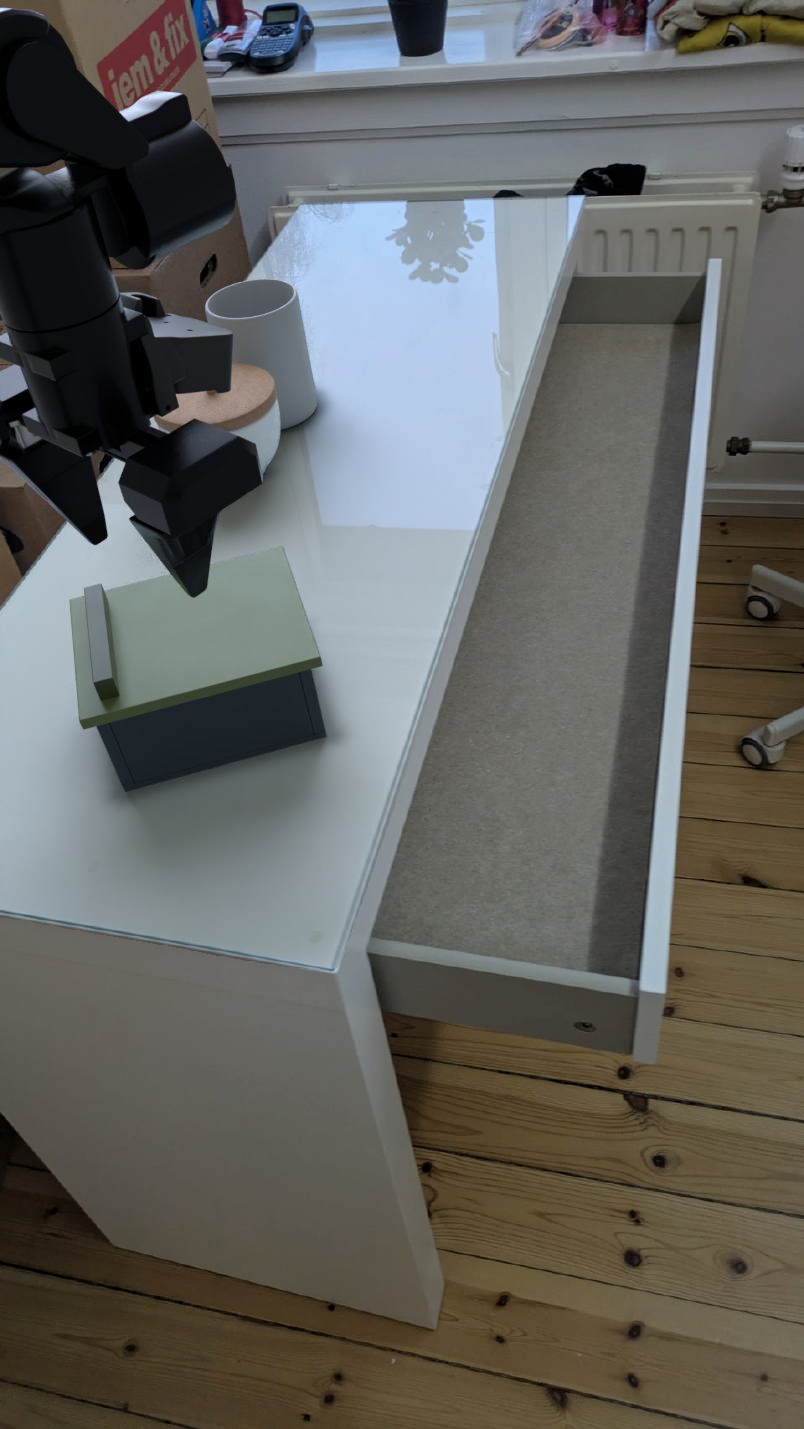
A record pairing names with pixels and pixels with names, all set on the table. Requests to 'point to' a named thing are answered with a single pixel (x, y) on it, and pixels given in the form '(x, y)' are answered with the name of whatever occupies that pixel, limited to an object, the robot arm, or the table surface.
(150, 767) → the bin
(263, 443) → the trinket box
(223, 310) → the mug
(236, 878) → the table surface
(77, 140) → the robot arm
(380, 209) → the table surface
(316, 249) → the table surface
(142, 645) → the bin lid
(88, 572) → the table surface
